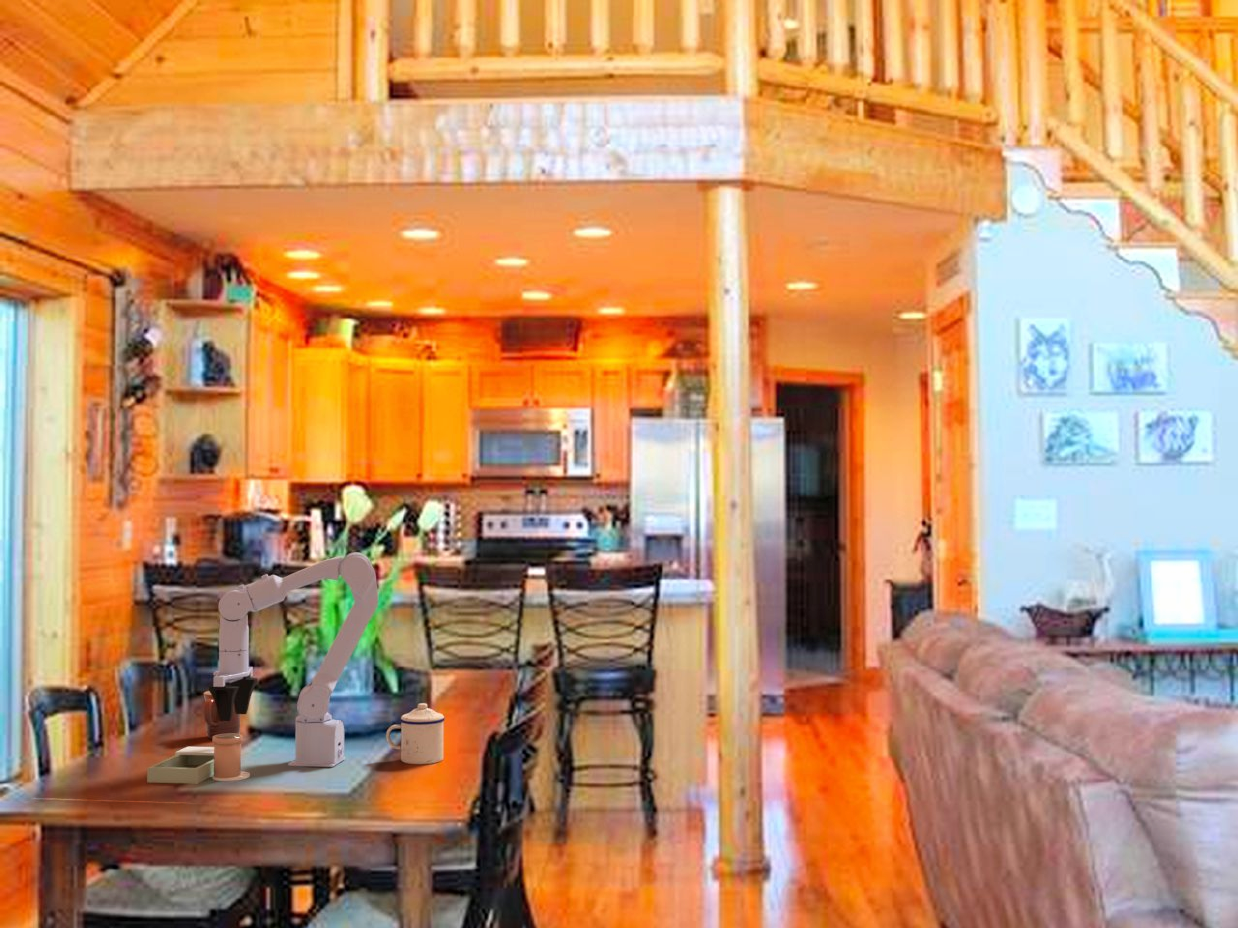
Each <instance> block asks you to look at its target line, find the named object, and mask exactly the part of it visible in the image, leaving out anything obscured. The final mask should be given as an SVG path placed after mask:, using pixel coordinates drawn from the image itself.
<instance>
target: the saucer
mask: <svg viewBox="0 0 1238 928" xmlns="http://www.w3.org/2000/svg"><path fill="white" fill-rule="evenodd" d="M250 776H251V774H250V772H248V771H242V770H241V775H240V776H237V777H232V778H216V777H214V775H213V776H211V779H212V780H213V781H217V782H219V781H220V782H235V781H241V780H247V779H248V778H250Z"/></svg>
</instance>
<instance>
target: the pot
mask: <svg viewBox="0 0 1238 928" xmlns="http://www.w3.org/2000/svg"><path fill="white" fill-rule="evenodd" d="M243 737H244V735H243V734H241V733H239V734H235V733H228V734H219V735H215V736H213V739H212V743H213V747H214V777H216V778H232V777H237V776H240V775H241V771H242V769H241V767H242V766H241V765H242V742H243V741H244V738H243Z"/></svg>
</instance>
